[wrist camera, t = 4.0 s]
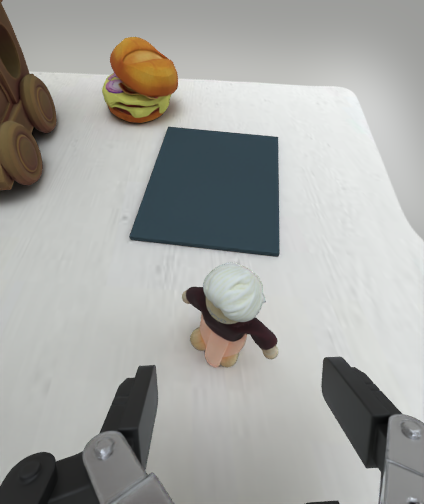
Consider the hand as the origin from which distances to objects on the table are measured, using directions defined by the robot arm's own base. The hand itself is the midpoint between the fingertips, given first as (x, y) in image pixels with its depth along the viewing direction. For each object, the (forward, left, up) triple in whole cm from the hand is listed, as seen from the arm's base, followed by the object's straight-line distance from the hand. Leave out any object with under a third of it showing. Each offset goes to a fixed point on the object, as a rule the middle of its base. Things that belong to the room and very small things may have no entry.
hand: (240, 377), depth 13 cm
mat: (-4, +24, -10) cm, 26 cm away
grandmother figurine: (-1, +4, -11) cm, 11 cm away
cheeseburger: (-17, +39, -11) cm, 44 cm away
